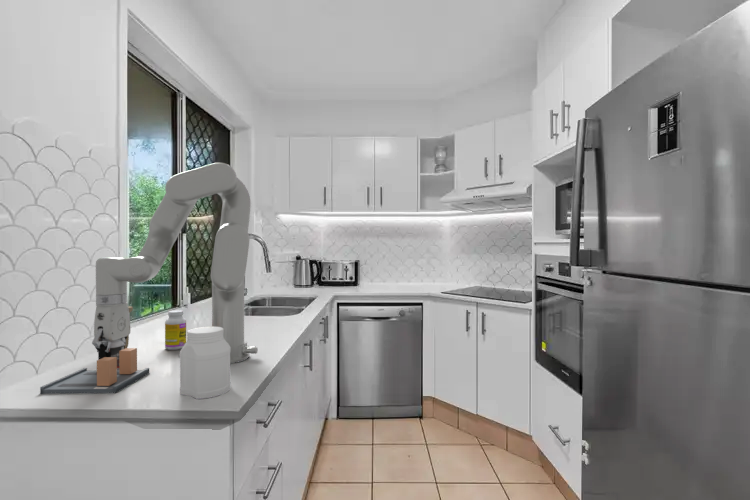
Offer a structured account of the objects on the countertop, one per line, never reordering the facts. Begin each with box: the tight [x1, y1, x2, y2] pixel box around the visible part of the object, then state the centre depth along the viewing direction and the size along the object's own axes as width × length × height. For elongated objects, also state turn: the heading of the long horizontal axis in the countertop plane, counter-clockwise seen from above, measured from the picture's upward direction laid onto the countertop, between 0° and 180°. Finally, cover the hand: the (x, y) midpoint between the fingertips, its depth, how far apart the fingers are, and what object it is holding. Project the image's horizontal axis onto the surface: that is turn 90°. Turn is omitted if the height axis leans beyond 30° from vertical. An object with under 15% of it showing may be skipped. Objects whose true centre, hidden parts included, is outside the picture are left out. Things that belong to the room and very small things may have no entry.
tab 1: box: [96, 357, 117, 386], centre depth 101 cm, size 3×3×6 cm
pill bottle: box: [103, 339, 124, 370], centre depth 117 cm, size 6×6×10 cm
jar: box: [179, 326, 232, 400], centre depth 100 cm, size 12×10×15 cm
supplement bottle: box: [164, 309, 187, 351], centre depth 141 cm, size 7×7×13 cm
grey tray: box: [39, 367, 150, 395], centre depth 106 cm, size 18×15×2 cm
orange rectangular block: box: [119, 347, 138, 374], centre depth 110 cm, size 3×3×6 cm
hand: (112, 361), depth 117 cm, fingers closed on pill bottle, 5 cm apart
